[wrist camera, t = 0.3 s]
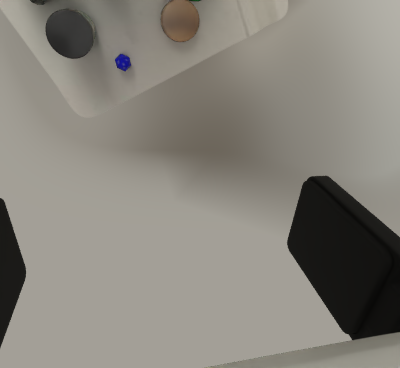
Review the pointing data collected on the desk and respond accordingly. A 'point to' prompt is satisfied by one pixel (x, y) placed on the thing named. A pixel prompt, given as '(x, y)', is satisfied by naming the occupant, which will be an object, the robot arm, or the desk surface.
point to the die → (123, 62)
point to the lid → (69, 33)
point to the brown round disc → (180, 20)
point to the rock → (38, 2)
